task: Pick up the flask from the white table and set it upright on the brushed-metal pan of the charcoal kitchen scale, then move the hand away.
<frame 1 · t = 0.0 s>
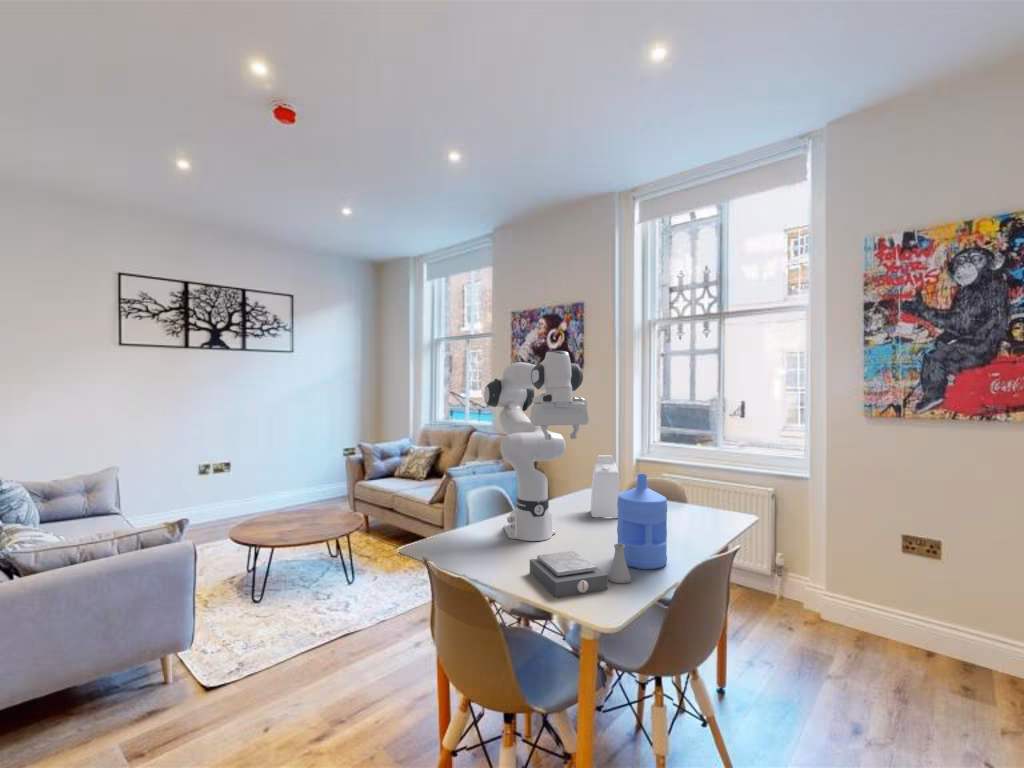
hand: (560, 439, 160), 39 cm above the table, tool pointing down, fingers open, 8 cm apart
water jug: (641, 561, 156), on the table
milk: (605, 515, 212), on the table
flask: (619, 580, 142), on the table
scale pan: (565, 562, 141), point 5 cm above the table, slide at -0.4 cm
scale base: (567, 580, 140), on the table
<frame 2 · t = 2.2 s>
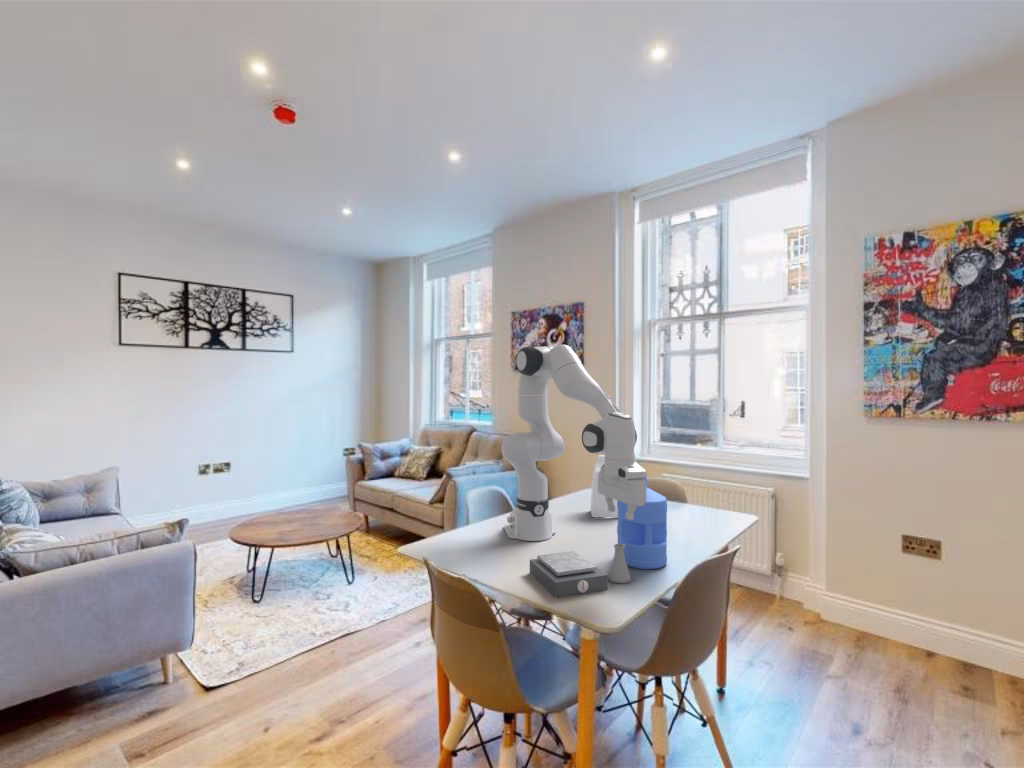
hand: (620, 515, 141), 19 cm above the table, tool pointing down, fingers open, 8 cm apart
nothing on the table moved.
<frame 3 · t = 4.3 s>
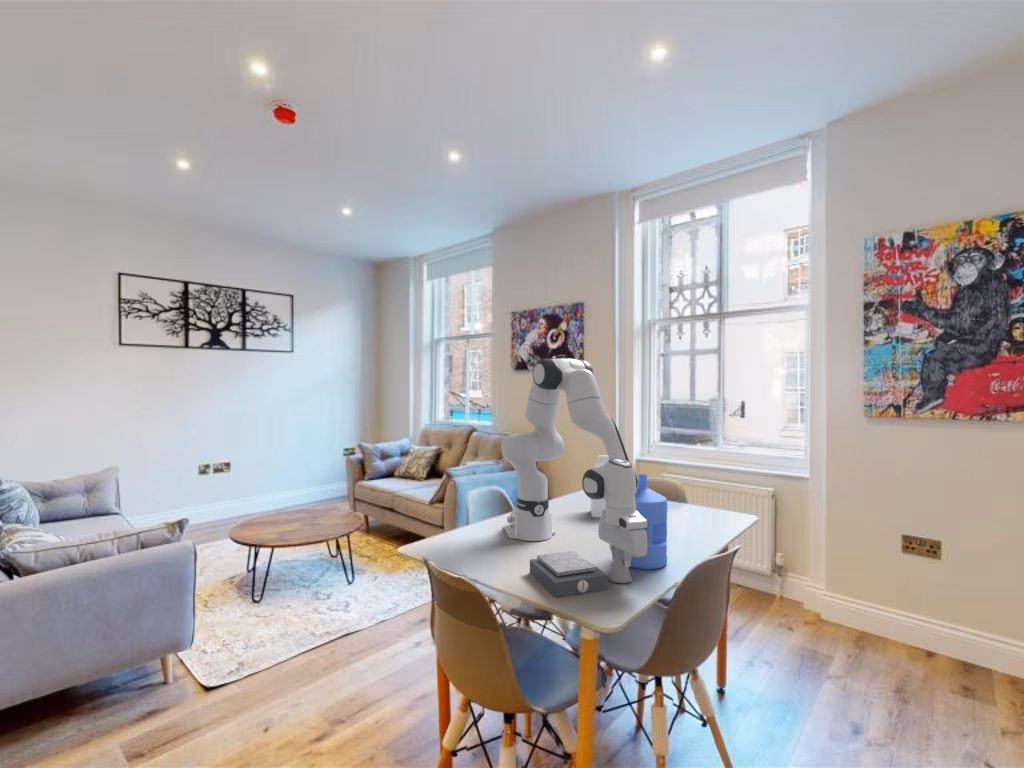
hand: (621, 563, 141), 5 cm above the table, tool pointing down, fingers open, 4 cm apart
water jug: (641, 562, 156), on the table, touching arm
flask: (619, 580, 141), on the table, touching gripper
everything else where it was.
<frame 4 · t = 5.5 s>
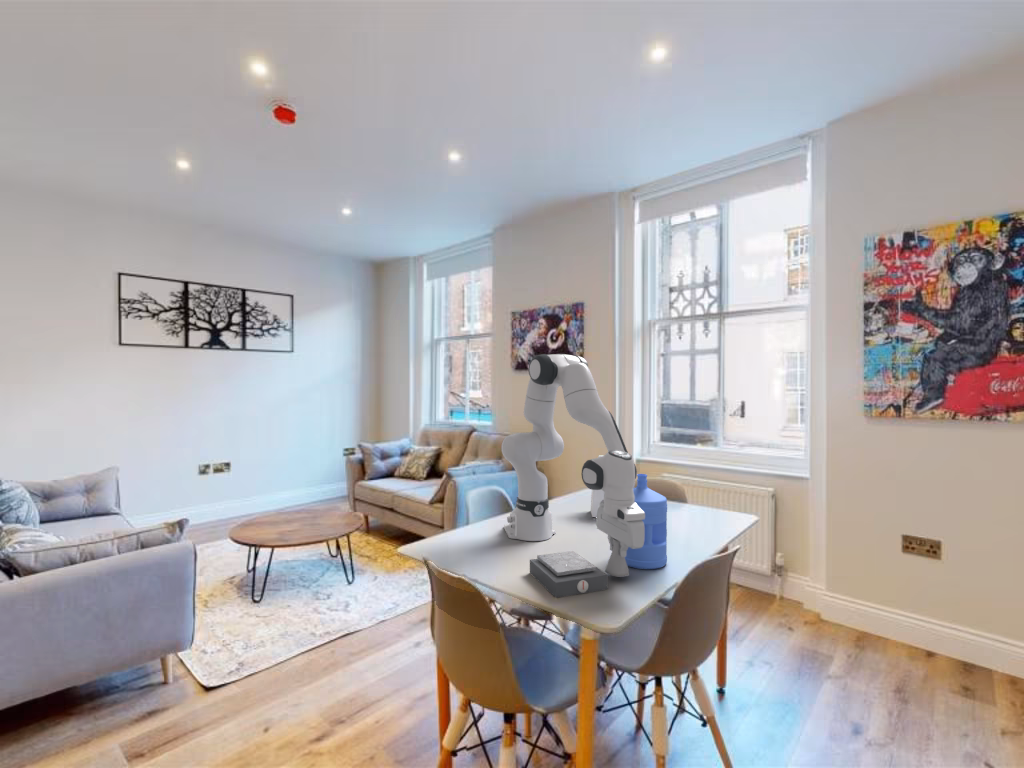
hand: (618, 553, 142), 7 cm above the table, tool pointing down, fingers closed on flask, 3 cm apart
water jug: (641, 561, 156), on the table
flask: (617, 573, 142), point 1 cm above the table, touching gripper
everything else where it was.
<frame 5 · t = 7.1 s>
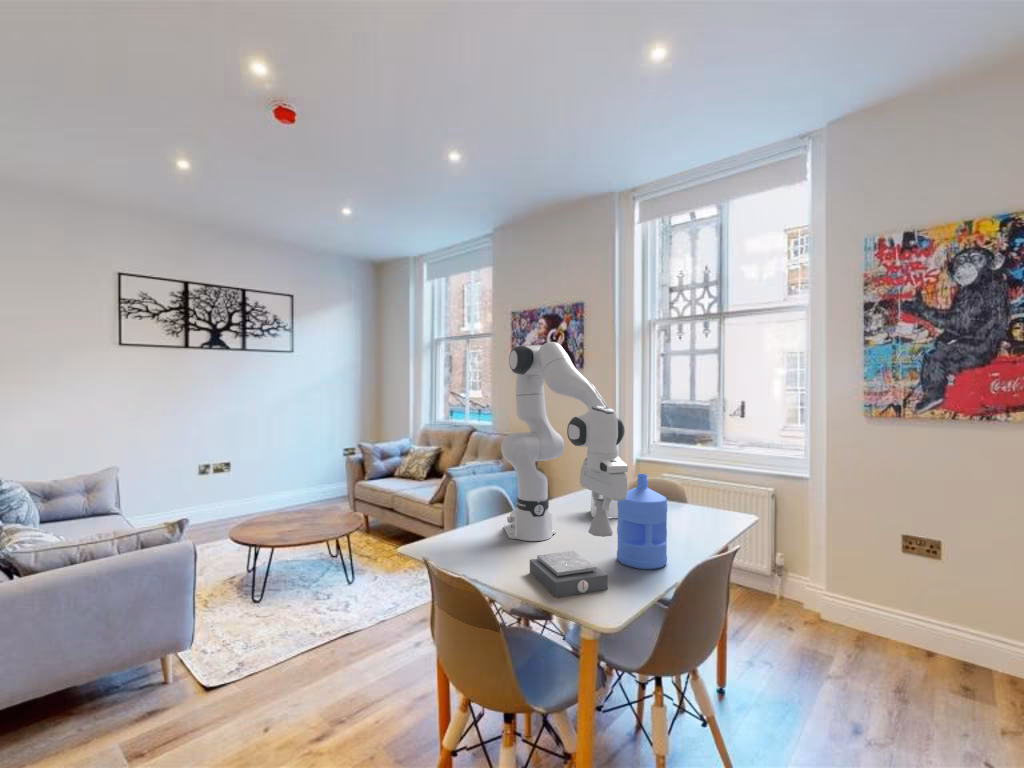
hand: (601, 508, 142), 21 cm above the table, tool pointing down, fingers closed on flask, 3 cm apart
flask: (600, 534, 142), point 13 cm above the table, touching gripper
everything else where it was.
when the fingers open (12 cm above the table, at t = 8.8 s): flask stays where it is, resting on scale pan.
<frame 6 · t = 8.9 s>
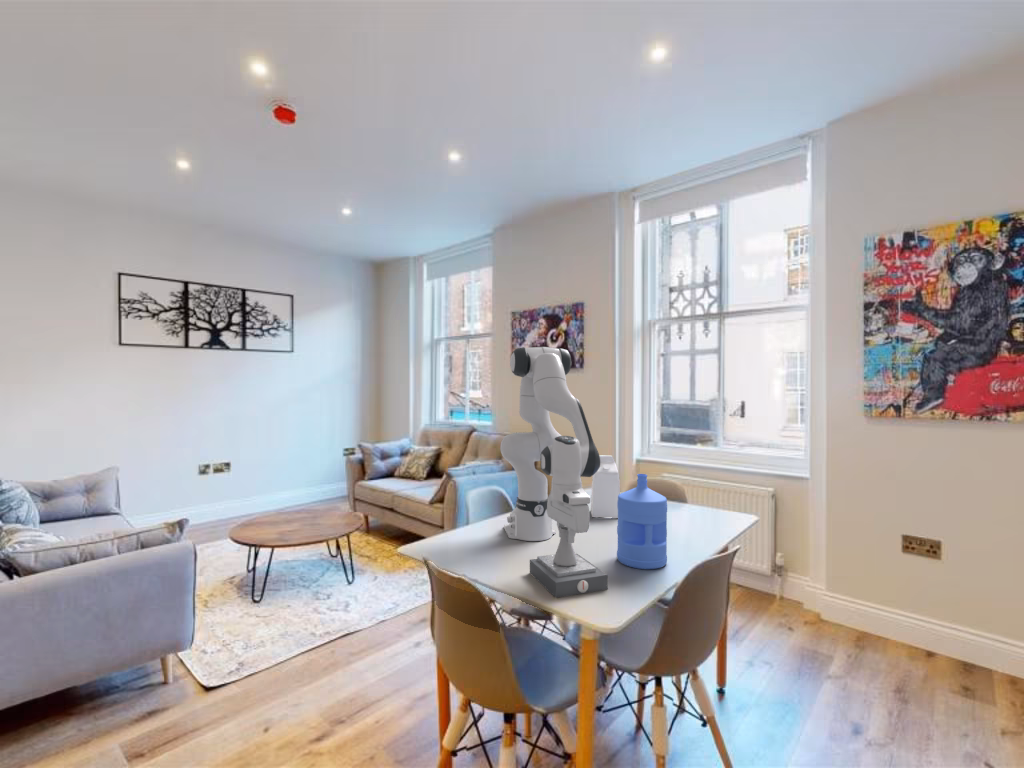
hand: (566, 540, 141), 12 cm above the table, tool pointing down, fingers open, 3 cm apart
flask: (565, 563, 141), point 5 cm above the table, touching gripper, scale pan
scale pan: (565, 563, 141), point 5 cm above the table, slide at -0.8 cm, touching flask
everything else where it was.
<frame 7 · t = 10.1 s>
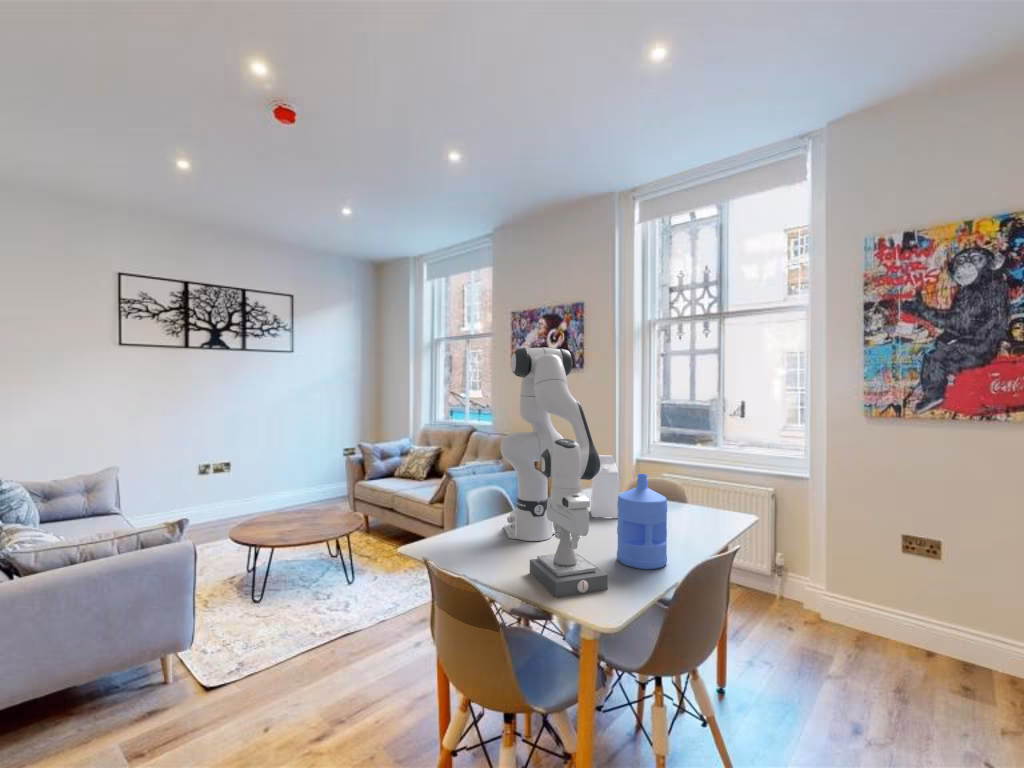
hand: (565, 543, 141), 11 cm above the table, tool pointing down, fingers open, 8 cm apart
flask: (565, 562, 141), point 5 cm above the table, touching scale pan
everything else where it was.
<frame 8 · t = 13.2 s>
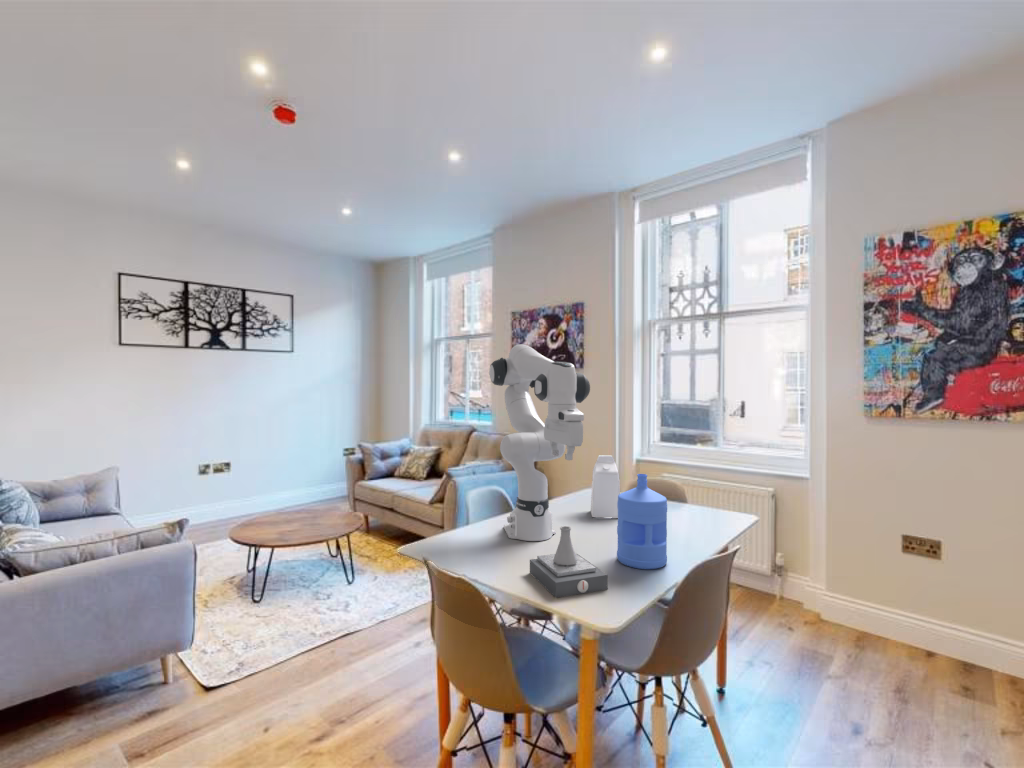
hand: (561, 457, 150), 34 cm above the table, tool pointing down, fingers open, 8 cm apart
nothing on the table moved.
at the end: flask inside the target area (0.1 cm from its centre), point 5.0 cm above the table; flask tilted 0°; the gripper is holding nothing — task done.
